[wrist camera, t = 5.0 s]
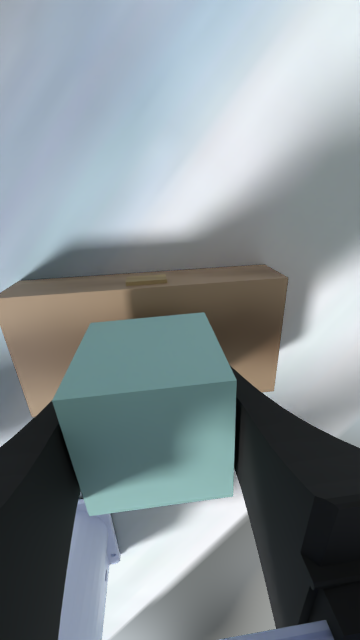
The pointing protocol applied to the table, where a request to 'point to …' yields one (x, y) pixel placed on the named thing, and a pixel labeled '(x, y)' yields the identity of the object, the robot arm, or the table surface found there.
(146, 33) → the table surface
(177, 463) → the teal cube
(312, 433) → the robot arm
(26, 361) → the pencil box
